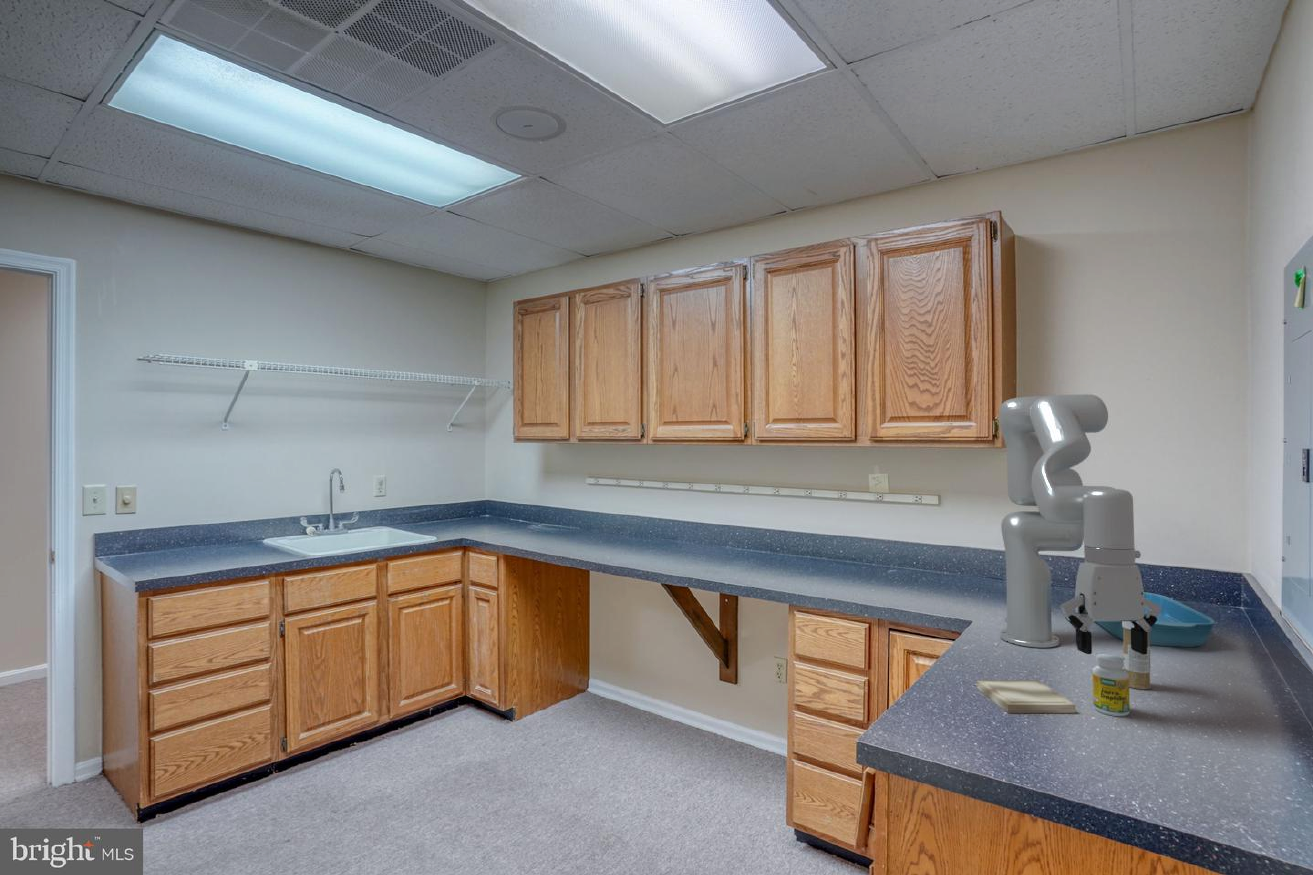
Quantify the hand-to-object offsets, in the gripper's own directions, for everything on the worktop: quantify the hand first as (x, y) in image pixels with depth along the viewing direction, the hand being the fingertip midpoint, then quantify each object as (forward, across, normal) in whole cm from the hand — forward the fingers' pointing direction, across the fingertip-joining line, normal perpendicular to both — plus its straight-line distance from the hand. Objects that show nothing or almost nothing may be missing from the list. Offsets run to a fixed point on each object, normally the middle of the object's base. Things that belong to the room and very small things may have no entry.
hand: (1111, 652), depth 117 cm
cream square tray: (+11, +13, -6) cm, 18 cm away
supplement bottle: (+11, 0, -1) cm, 11 cm away
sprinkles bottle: (+11, -13, -13) cm, 21 cm away
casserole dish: (+10, -41, -52) cm, 67 cm away
